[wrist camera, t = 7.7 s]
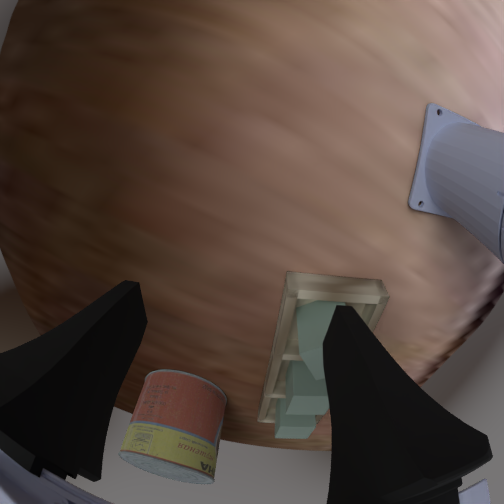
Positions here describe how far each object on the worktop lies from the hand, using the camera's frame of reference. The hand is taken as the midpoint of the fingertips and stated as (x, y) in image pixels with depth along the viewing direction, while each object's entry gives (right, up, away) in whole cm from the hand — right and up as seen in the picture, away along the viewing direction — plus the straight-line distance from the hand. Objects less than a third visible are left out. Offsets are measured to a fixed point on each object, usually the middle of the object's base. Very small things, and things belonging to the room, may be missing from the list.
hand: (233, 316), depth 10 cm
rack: (+6, -9, +17) cm, 20 cm away
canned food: (-8, -16, +22) cm, 29 cm away
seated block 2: (+6, -16, +20) cm, 26 cm away
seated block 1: (+6, -9, +17) cm, 20 cm away
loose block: (+7, -3, +13) cm, 15 cm away
